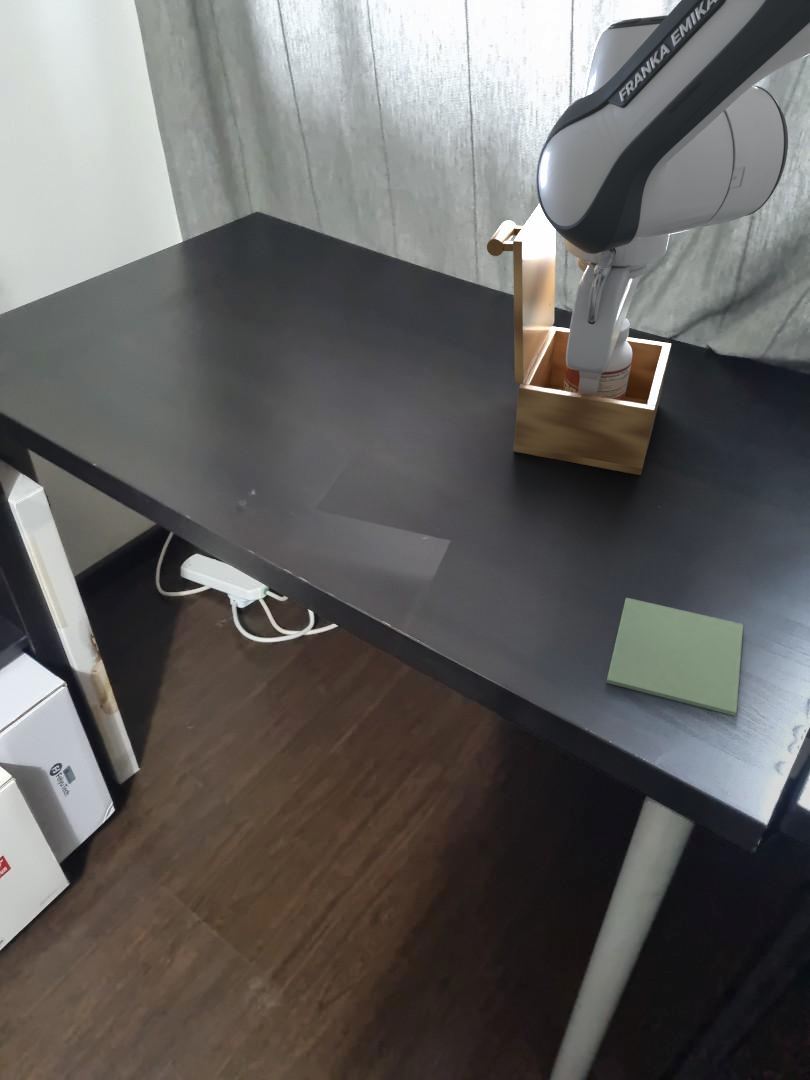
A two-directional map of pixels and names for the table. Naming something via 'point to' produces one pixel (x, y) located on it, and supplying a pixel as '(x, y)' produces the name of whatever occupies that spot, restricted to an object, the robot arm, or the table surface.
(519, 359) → the chest lid
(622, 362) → the pill bottle
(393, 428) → the table surface
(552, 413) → the chest
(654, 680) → the mat
